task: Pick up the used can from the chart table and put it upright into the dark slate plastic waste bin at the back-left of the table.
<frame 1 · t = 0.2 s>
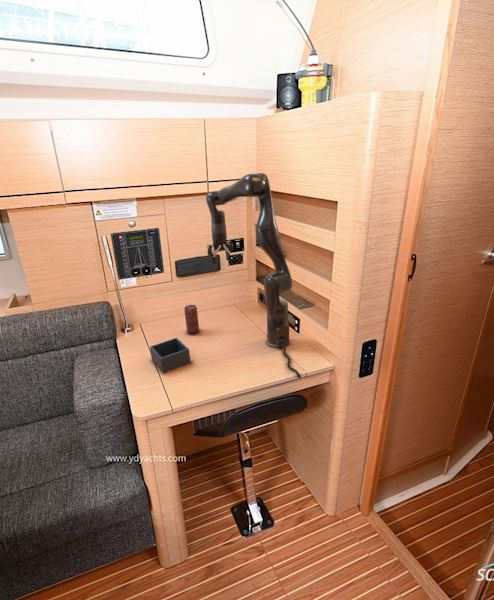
hand: (221, 262, 178), 29 cm above the table, tool pointing down, fingers open, 8 cm apart
bin: (171, 361, 144), on the table
can: (193, 332, 168), on the table
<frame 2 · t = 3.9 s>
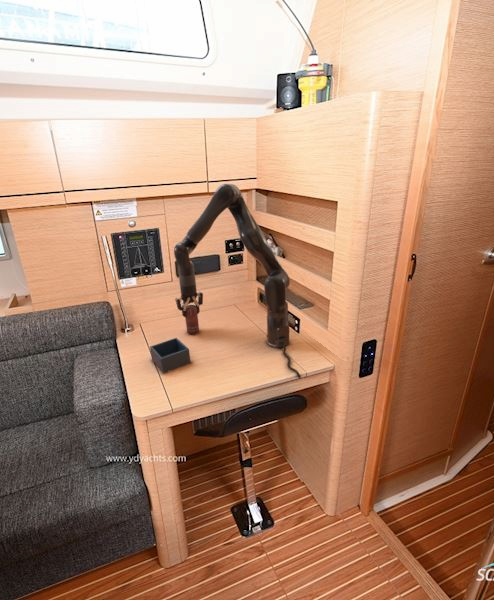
hand: (191, 314, 164), 10 cm above the table, tool pointing down, fingers closed on can, 6 cm apart
can: (193, 332, 168), on the table, touching gripper
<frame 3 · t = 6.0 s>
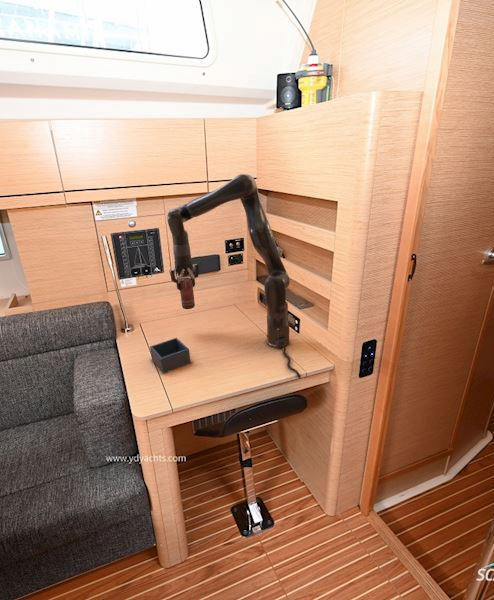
hand: (186, 288, 157), 25 cm above the table, tool pointing down, fingers closed on can, 6 cm apart
can: (188, 307, 160), point 15 cm above the table, touching gripper
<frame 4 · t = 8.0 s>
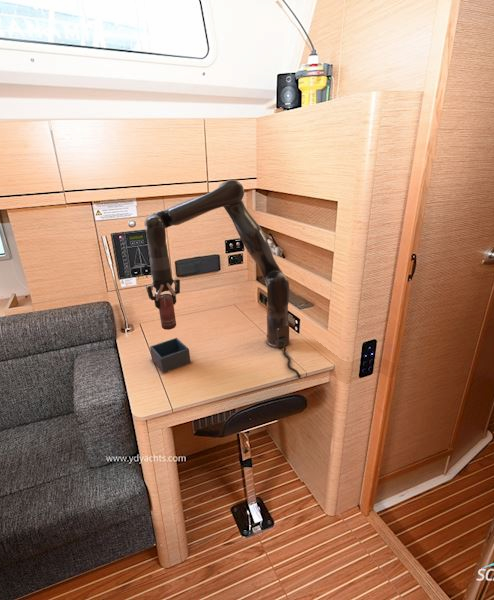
hand: (166, 305, 137), 25 cm above the table, tool pointing down, fingers closed on can, 6 cm apart
can: (169, 327, 141), point 15 cm above the table, touching gripper
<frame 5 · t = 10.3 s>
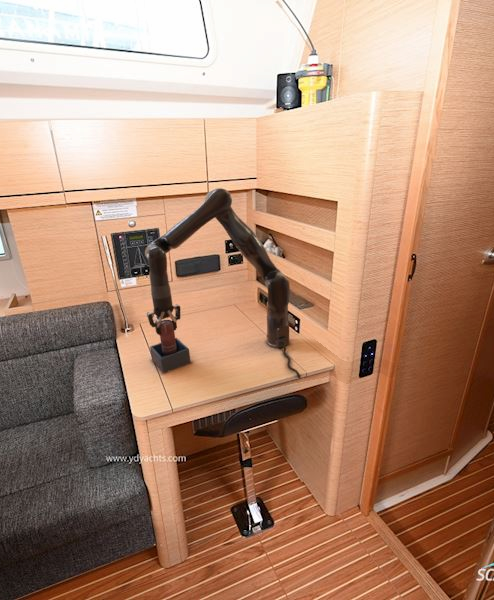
hand: (167, 331, 139), 14 cm above the table, tool pointing down, fingers closed on can, 6 cm apart
can: (169, 352, 142), point 5 cm above the table, touching gripper
when the fingers open (10 cm above the table, at t = 11.9 s): can stays where it is, resting on bin.
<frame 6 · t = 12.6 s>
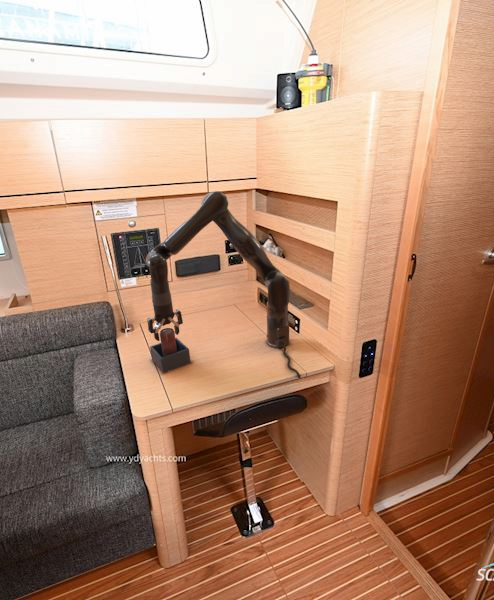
hand: (167, 337, 140), 12 cm above the table, tool pointing down, fingers open, 8 cm apart
can: (171, 360, 144), point 1 cm above the table, touching bin
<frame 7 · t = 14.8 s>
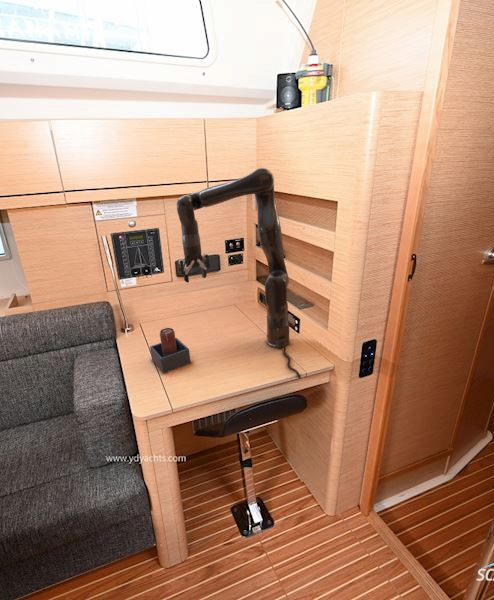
hand: (195, 279, 148), 30 cm above the table, tool pointing down, fingers open, 8 cm apart
nothing on the table moved.
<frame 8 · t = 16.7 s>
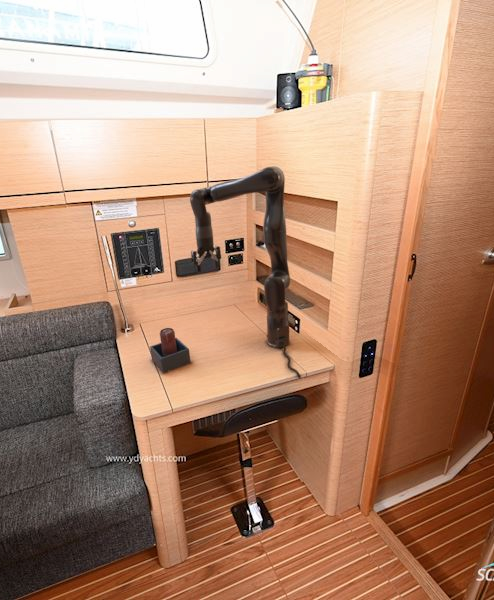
hand: (207, 270, 155), 32 cm above the table, tool pointing down, fingers open, 8 cm apart
nothing on the table moved.
at the end: can inside the target area in the bin (0.1 cm from its centre), point 0.6 cm above the bin's base; can tilted 0°; the gripper is holding nothing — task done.
